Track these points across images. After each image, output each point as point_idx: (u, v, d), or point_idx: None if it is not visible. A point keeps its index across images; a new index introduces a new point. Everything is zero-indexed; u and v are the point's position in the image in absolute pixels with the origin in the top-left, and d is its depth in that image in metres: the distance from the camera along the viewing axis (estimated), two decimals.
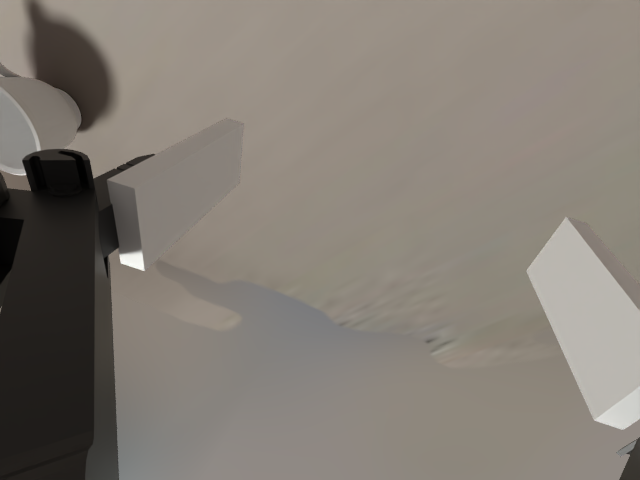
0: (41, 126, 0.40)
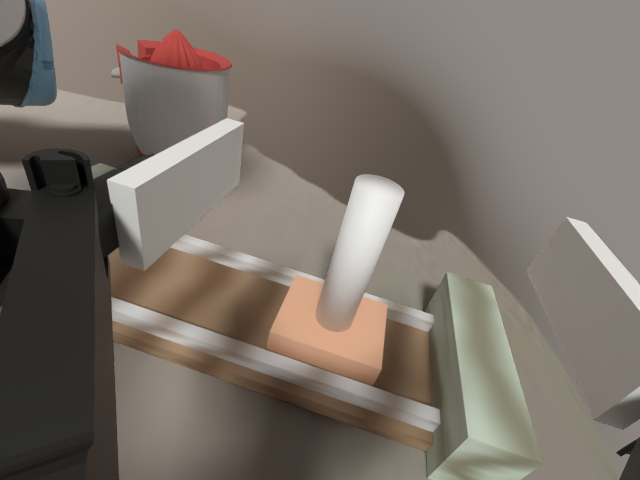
0: None
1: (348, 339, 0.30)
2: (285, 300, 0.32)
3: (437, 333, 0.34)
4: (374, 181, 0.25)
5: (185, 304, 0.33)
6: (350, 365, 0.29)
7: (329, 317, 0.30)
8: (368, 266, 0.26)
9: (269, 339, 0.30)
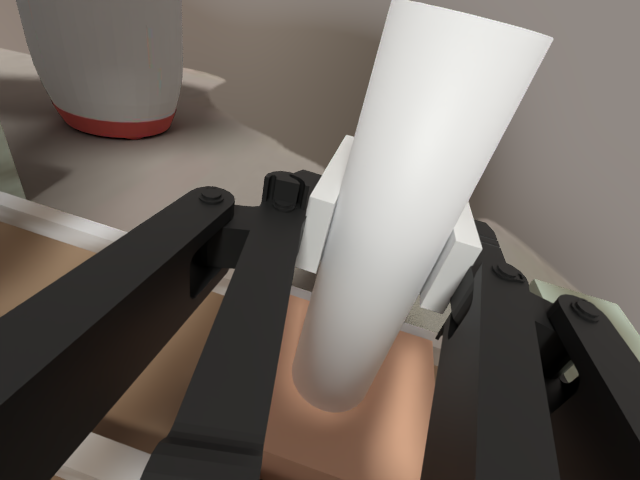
0: None
1: (361, 429, 0.14)
2: None
3: None
4: None
5: None
6: None
7: (319, 383, 0.13)
8: (421, 269, 0.10)
9: None
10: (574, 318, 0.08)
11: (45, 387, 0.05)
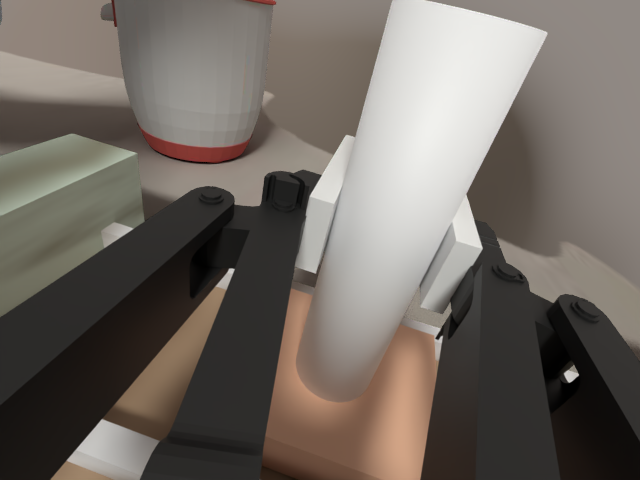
0: None
1: (363, 418, 0.14)
2: None
3: None
4: None
5: None
6: None
7: (322, 373, 0.14)
8: (421, 258, 0.10)
9: None
10: (574, 318, 0.08)
11: (45, 387, 0.05)
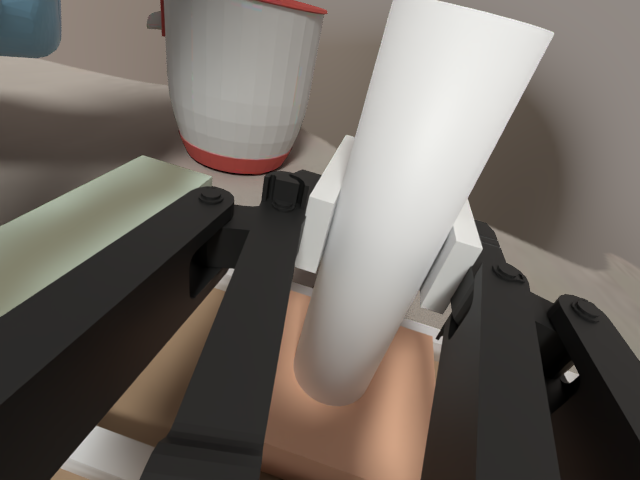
0: None
1: (362, 422, 0.14)
2: None
3: None
4: None
5: None
6: None
7: (321, 377, 0.13)
8: (421, 263, 0.10)
9: None
10: (575, 318, 0.08)
11: (44, 387, 0.05)
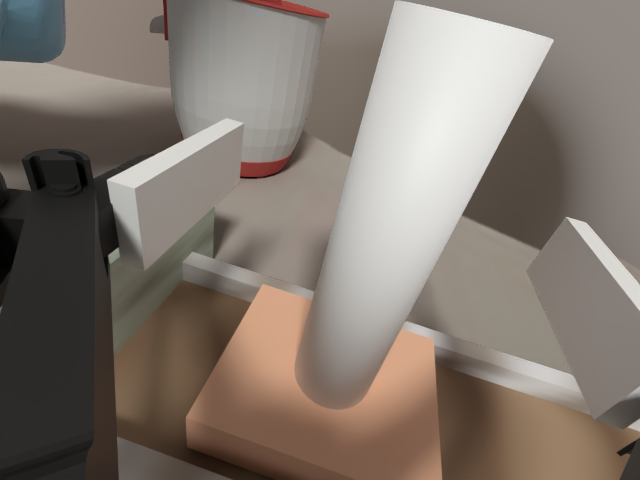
0: None
1: (363, 426, 0.14)
2: (235, 337, 0.16)
3: None
4: None
5: None
6: None
7: (322, 380, 0.13)
8: (422, 267, 0.10)
9: (189, 430, 0.13)
10: None
11: None
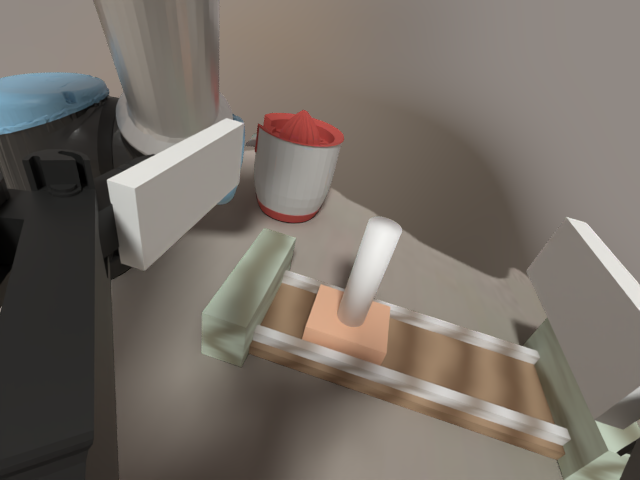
0: None
1: (362, 332, 0.41)
2: (314, 303, 0.44)
3: (547, 367, 0.44)
4: (381, 222, 0.36)
5: None
6: (364, 350, 0.40)
7: (348, 315, 0.41)
8: (377, 279, 0.38)
9: (305, 331, 0.41)
10: None
11: None
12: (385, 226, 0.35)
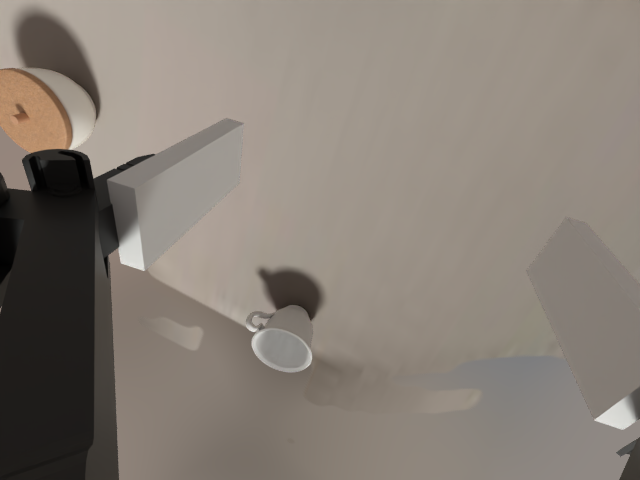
0: (303, 336, 0.63)
1: None
2: None
3: None
4: None
5: None
6: None
7: None
8: None
9: None
10: None
11: None
12: None
